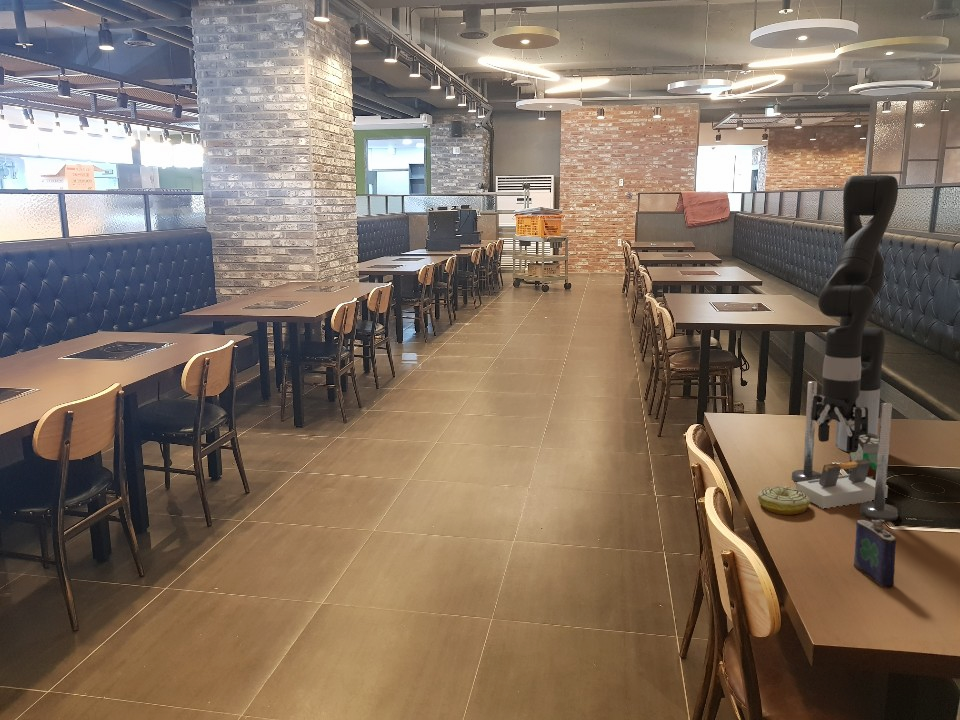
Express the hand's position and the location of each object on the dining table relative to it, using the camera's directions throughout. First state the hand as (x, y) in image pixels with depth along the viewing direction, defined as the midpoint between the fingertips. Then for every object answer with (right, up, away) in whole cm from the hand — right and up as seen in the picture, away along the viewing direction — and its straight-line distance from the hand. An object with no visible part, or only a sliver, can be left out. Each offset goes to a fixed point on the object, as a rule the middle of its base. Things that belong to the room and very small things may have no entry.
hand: (837, 446), depth 164 cm
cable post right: (+5, -14, -7) cm, 16 cm away
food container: (+15, -9, +15) cm, 23 cm away
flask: (-9, -20, -33) cm, 39 cm away
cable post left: (-1, -10, +14) cm, 17 cm away
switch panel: (+2, -12, +3) cm, 12 cm away
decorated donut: (-12, -14, -1) cm, 19 cm away
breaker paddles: (+2, -9, +3) cm, 10 cm away
